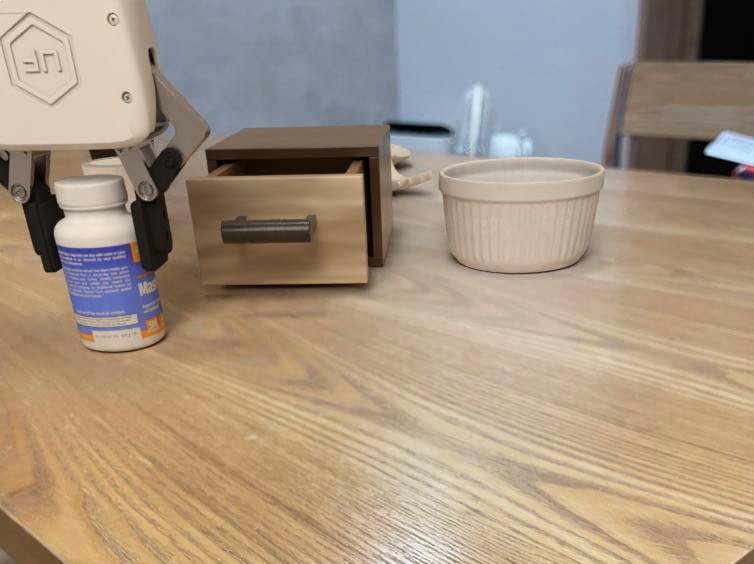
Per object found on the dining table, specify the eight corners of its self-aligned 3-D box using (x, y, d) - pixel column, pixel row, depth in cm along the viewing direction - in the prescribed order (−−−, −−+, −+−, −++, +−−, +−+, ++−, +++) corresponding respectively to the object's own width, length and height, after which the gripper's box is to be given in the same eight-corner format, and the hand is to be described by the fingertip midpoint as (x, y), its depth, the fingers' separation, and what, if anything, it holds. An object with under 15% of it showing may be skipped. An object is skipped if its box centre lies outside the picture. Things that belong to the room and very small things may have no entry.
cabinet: (383, 266, 66) (378, 145, 61) (222, 268, 67) (204, 149, 62) (393, 228, 79) (389, 124, 74) (256, 230, 79) (244, 127, 74)
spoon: (355, 204, 89) (353, 170, 87) (345, 162, 116) (343, 136, 114) (435, 201, 90) (435, 167, 88) (407, 160, 116) (406, 133, 114)
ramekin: (416, 271, 65) (414, 178, 61) (466, 235, 75) (467, 154, 71) (579, 284, 61) (588, 185, 57) (608, 244, 71) (618, 158, 67)
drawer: (361, 301, 55) (355, 187, 51) (185, 303, 56) (165, 191, 52) (380, 240, 70) (376, 149, 66) (241, 243, 71) (229, 152, 67)
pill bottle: (168, 348, 51) (137, 183, 46) (79, 358, 50) (37, 189, 44) (165, 322, 55) (136, 169, 50) (83, 331, 54) (44, 175, 49)
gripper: (-189, -108, 37) (-57, 285, 47) (173, -122, 36) (230, 281, 46) (-97, -90, 43) (2, 253, 53) (213, -101, 43) (256, 250, 53)
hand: (107, 263), depth 50 cm, fingers closed on pill bottle, 5 cm apart
